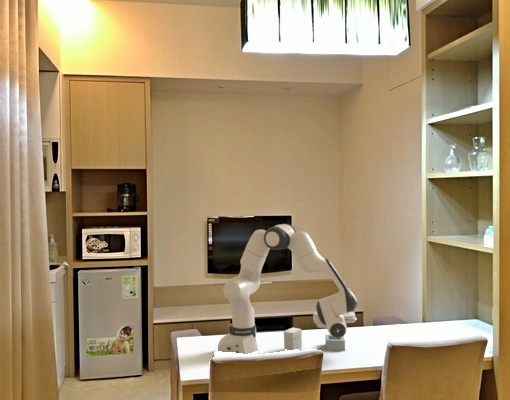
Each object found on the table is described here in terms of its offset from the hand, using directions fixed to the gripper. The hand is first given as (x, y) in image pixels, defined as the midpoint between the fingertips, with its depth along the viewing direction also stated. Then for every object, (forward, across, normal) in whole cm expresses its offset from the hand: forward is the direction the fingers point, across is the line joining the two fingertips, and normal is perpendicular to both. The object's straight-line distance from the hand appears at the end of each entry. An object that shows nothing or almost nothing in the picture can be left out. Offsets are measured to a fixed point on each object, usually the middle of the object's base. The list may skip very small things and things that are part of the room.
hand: (333, 312), depth 232 cm
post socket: (+1, 0, +18) cm, 18 cm away
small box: (-4, +20, +18) cm, 28 cm away
